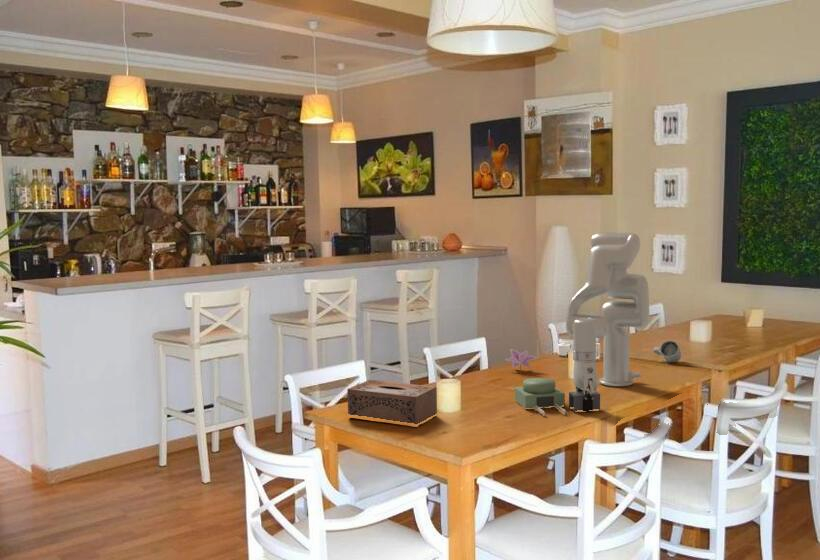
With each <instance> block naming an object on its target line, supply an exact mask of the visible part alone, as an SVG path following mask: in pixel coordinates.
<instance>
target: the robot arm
mask: <svg viewBox="0 0 820 560" xmlns="http://www.w3.org/2000/svg"><path fill="white" fill-rule="evenodd" d="M590 245H591V249H590V251H589V254H588V259H587V260H588V261H587V268H586V275H585V283H584V285H583V286H582V288H580V289H579V291H577V292H576V293H575V294H574V296H573V297H572V298H571V300H570V302H569V304H568V307H567V314H566V319H565V329H566V332H567V334H568V335H570V336H572V340H573V355H572V356H573V357H572V360H573V361H574V362H573V363H574V364H573V384H574V386H575V390H576V391H575V392H578V391H583V393H584V400H583V411H589V410H593V396H594V394H595V391H596V392H597V390H598V387H599V386H598V383H599V384H602V385H603V386H607V387H609V386H610V387H628V386H632V385H633V384H634V380H633V379H634V378H636V379H637V378H638V379H639V378H642V372H635V371H631V370H630V336H629V334H628V332H627V331H626V329H625V328H627V327H628V328H629V327H630V328H644V327H646V326H648V324H649V321H650V294H649V283H648V279H647V278H646V276H645V275H643V274H640V273H639V274H637V273H628V271H627V270H628V269H629V268H631V266H632V265H633V263H634V261H635V259H636V257H637V256H638V254H639V252H640V249H641V240H640V237H639V235H638V234H637V233H633V232H597V233H594V234H592V236H591V238H590ZM604 294H605V296H606V297H607V298H608V299H617V300H609V301H606V302H605V303H603V304H602V306H601V310H600V312H601V313H600V315H595V314H594V315H593V314H579V313H578V312H579V310H580V307H582V305H583V304H585V303H586V302H587V301H589V300H592V299H594V298H596V297H599V296H602V295H604ZM620 299H621V300H620ZM626 300H632V301H626ZM601 338H603V357H602V358H603V366H602V367H603V369H602V371H603V372H602V373H603V375H602V377H600V378H598V372H597V371H598V370H597V362H596V361H597V359H596V342H597V339H601ZM598 379H599V380H598ZM586 392H589V393H588V394H587V395H586Z"/></svg>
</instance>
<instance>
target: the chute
mask: <svg viewBox="0 0 820 560" xmlns="http://www.w3.org/2000/svg"><path fill="white" fill-rule="evenodd" d="M588 393H589V392H586V395H587V394H588ZM583 400H584V393H583V391H578V392H576V391H568V408H569V407H574V410H573V412H574V411H577V410H583ZM593 409H600V410H601V393H599V392H598V391H597V390H596V391H595V394H594V396H593Z"/></svg>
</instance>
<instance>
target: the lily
mask: <svg viewBox="0 0 820 560" xmlns="http://www.w3.org/2000/svg"><path fill="white" fill-rule="evenodd" d="M509 351H510V354H511V357H507V358H505V361H507V362H508V361H509V362H512V368H516V367H518V366H519V372H520V374H522V369H521V367H522V366H524V367H527V368H531V367H530V364H529V362H530V361H533V360H536V359H538V357H537V356H534V355H530V354H528V350H525V351H524V350H523V351H522V352H520V351H518V350H515V349H512V348H510V349H509ZM521 365H522V366H521Z"/></svg>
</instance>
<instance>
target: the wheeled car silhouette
mask: <svg viewBox="0 0 820 560" xmlns="http://www.w3.org/2000/svg"><path fill="white" fill-rule="evenodd" d="M556 350H557V354H558V355H559V356H562V357H567V352H568V351H569V350H570V351H572V350H573V339H565V338H564V339H563V338H560V339H559V343H557V349H556ZM600 359H601V343H599V342H597V341H596V360H600Z"/></svg>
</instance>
